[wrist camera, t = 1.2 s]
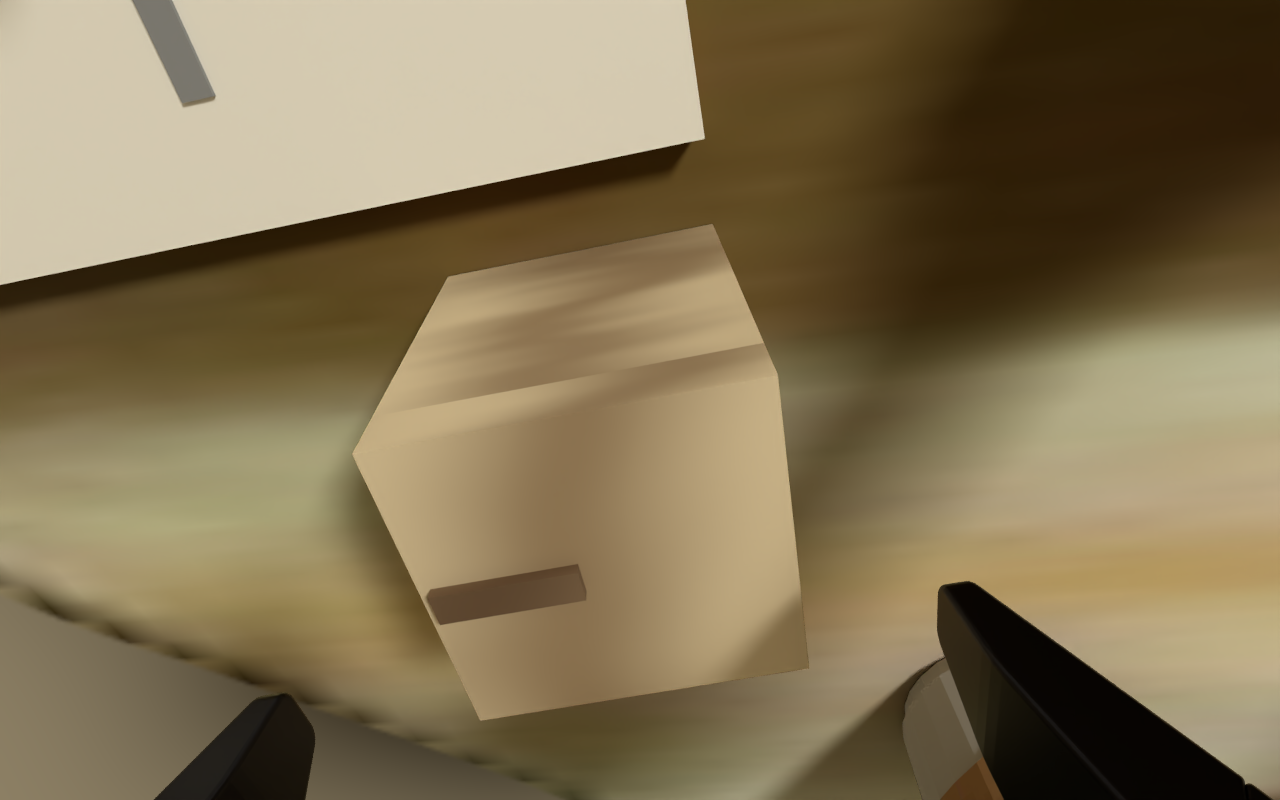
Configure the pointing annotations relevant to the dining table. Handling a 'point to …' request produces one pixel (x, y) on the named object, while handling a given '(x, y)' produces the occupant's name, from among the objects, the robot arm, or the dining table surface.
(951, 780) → the coffee cup
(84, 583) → the dining table surface
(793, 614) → the cardboard box
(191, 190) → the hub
